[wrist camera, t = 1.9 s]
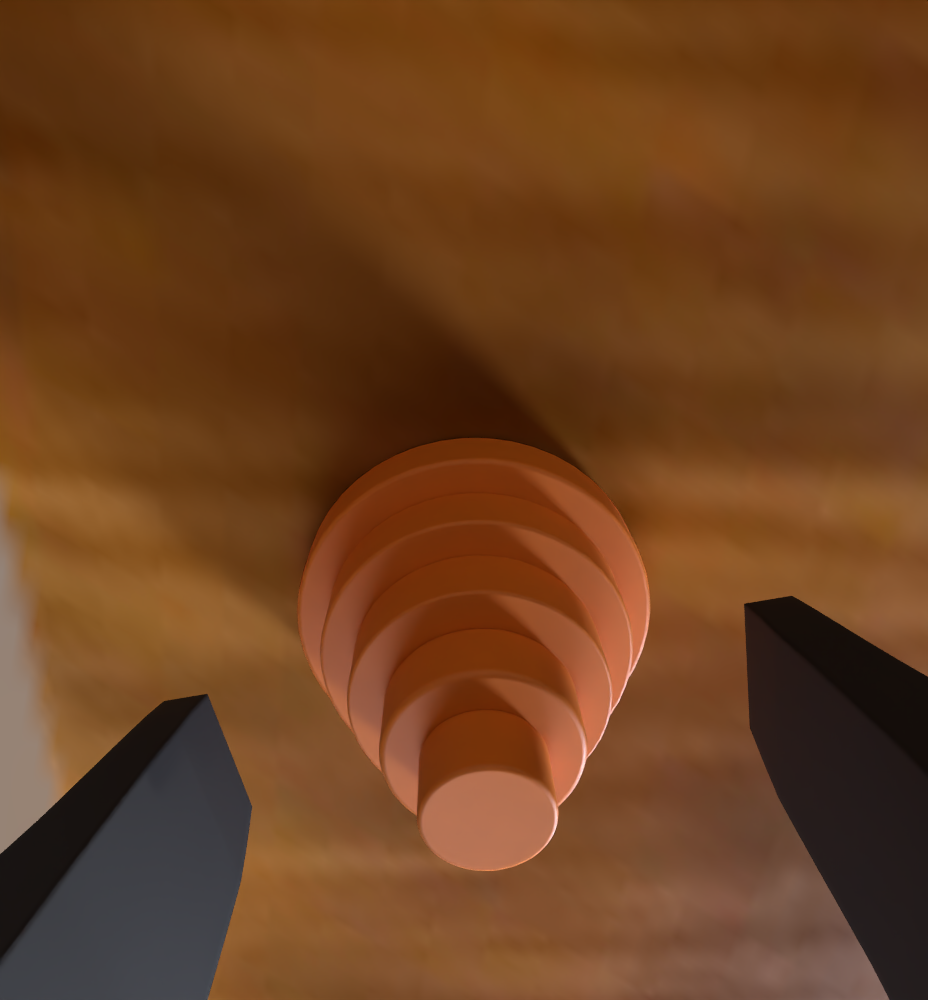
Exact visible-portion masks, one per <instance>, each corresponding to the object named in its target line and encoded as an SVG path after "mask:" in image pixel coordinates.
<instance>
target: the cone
mask: <svg viewBox="0 0 928 1000" xmlns="http://www.w3.org/2000/svg"><path fill="white" fill-rule="evenodd" d="M297 616H298V628H299V634H300V638H301V643H302V647H303V651H304V653H305V656H306V658H307V661H308V663H309V665H310V668H311V670H312V672H313V674H314V675H315V677H316V679H317V680H318V682H319V684H320V686H321V687H322V689H323V690H324V691H325V692H326V694H327V695H328V696H329V697H330V699H331V701H332V703H333V705H334V707H335V708H336V710H337V712H338V713H339V715H340V717H341V718H342V719H343V721H344V722H345V723H346V725H347V726H348V727H349V728H350V730H351V731H352V732H353V733H354V735H355V738H356V740H357V742H358V743H359V745H360V747H361V748H362V750H363V752H364V753H365V754H366V756H367V757H368V758H369V759H370V761H371V762H372V763H373V764H374V765H375V766H376V767H377V768H378V769H379V770H380V771H381V772H382V773H383V775H384V778H385V780H386V782H387V784H388V786H389V788H390V789H391V791H392V793H393V794H394V795H395V797H396V798H397V799H398V800H399V801H400V802H401V803H402V804H403V805H404V806H405V807H406V808H407V809H408V810H409V811H411V812H412V813H414V814H415V815H416V816H417V825H418V829H419V832H420V835H421V837H422V838H423V840H424V842H425V844H426V845H427V846H428V847H429V849H430V850H431V851H432V852H433V853H434V854H435V855H437V856H438V857H439V858H441V859H442V860H444V861H446V862H448V863H450V864H452V865H455V866H458V867H461V868H464V869H470V870H478V871H493V870H501V869H506V868H510V867H513V866H516V865H519V864H521V863H523V862H525V861H527V860H529V859H531V858H532V857H534V856H535V855H537V854H538V853H539V852H540V851H541V850H542V849H543V848H544V847H545V846H546V845H547V844H548V843H549V841H550V839H551V838H552V836H553V834H554V831H555V829H556V826H557V822H558V814H559V813H558V806H559V805H560V804H561V803H562V802H563V801H564V800H565V799H566V798H567V797H568V796H569V794H570V793H571V792H572V791H573V789H574V788H575V786H576V784H577V783H578V781H579V779H580V777H581V774H582V772H583V769H584V766H585V762H586V759H587V758H588V756H589V755H590V754H591V753H592V752H593V750H594V749H595V747H596V746H597V744H598V742H599V741H600V739H601V737H602V735H603V733H604V731H605V728H606V726H607V723H608V720H609V716H610V715H611V713H612V711H613V710H614V708H615V707H616V705H617V703H618V702H619V700H620V698H621V695H622V693H623V691H624V689H625V686H626V684H627V680H628V678H629V676H630V675H631V673H632V672H633V670H634V668H635V666H636V663H637V661H638V659H639V657H640V654H641V652H642V649H643V646H644V642H645V639H646V635H647V632H648V625H649V617H650V590H649V584H648V579H647V573H646V570H645V567H644V564H643V561H642V558H641V555H640V553H639V550H638V548H637V546H636V544H635V542H634V540H633V538H632V536H631V534H630V532H629V530H628V528H627V526H626V524H625V522H624V520H623V518H622V516H621V515H620V513H619V511H618V509H617V508H616V507H615V505H614V504H613V503H612V501H611V500H610V499H609V497H608V496H607V495H606V494H605V493H604V492H603V491H602V490H601V489H600V488H599V487H598V485H597V484H596V483H595V482H594V481H593V480H592V479H590V478H589V477H588V476H586V475H585V474H584V473H582V472H581V471H580V470H578V469H577V468H576V467H574V466H573V465H571V464H569V463H567V462H566V461H564V460H562V459H560V458H559V457H557V456H555V455H553V454H550V453H548V452H545V451H543V450H540V449H538V448H535V447H532V446H528V445H524V444H520V443H517V442H513V441H507V440H499V439H491V438H460V439H452V440H443V441H438V442H434V443H430V444H426V445H422V446H418V447H415V448H412V449H410V450H407V451H405V452H402V453H400V454H397V455H395V456H393V457H391V458H389V459H387V460H386V461H384V462H382V463H380V464H378V465H376V466H375V467H373V468H372V469H371V470H369V471H368V472H367V473H365V474H364V475H362V476H361V477H360V478H358V479H357V480H356V481H355V482H354V483H353V484H352V485H351V486H350V487H349V488H348V489H347V490H346V491H345V492H344V493H343V494H342V495H341V496H340V497H339V498H338V500H337V501H336V502H335V504H334V505H333V506H332V507H331V509H330V510H329V511H328V513H327V515H326V516H325V518H324V520H323V522H322V523H321V525H320V527H319V529H318V531H317V534H316V536H315V539H314V541H313V544H312V546H311V549H310V552H309V555H308V559H307V562H306V565H305V568H304V571H303V575H302V579H301V583H300V588H299V592H298V607H297Z"/></svg>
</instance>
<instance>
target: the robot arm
mask: <svg viewBox="0 0 928 1000" xmlns="http://www.w3.org/2000/svg"><path fill="white" fill-rule="evenodd" d="M744 608H745V630H746V652H747V674H748V697H749V719H750V729H751V731H752V734H753V736H754V739H755V742H756V744H757V747H758V749H759V752H760V754H761V757H762V759H763V762H764V764H765V767H766V769H767V771H768V774H769V776H770V778H771V781H772V783H773V786H774V788H775V790H776V793H777V795H778V797H779V799H780V801H781V803H782V805H783V807H784V809H785V810H786V812H787V814H788V816H789V818H790V820H791V821H792V823H793V825H794V827H795V829H796V830H797V832H798V834H799V836H800V838H801V839H802V841H803V843H804V845H805V847H806V848H807V850H808V852H809V854H810V856H811V857H812V859H813V861H814V863H815V865H816V866H817V868H818V870H819V872H820V873H821V875H822V877H823V879H824V881H825V882H826V884H827V886H828V888H829V889H830V891H831V893H832V895H833V897H834V898H835V900H836V902H837V904H838V905H839V907H840V909H841V911H842V913H843V914H844V916H845V918H846V920H847V921H848V923H849V925H850V927H851V929H852V930H853V932H854V934H855V936H856V938H857V939H858V941H859V943H860V945H861V946H862V948H863V950H864V952H865V954H866V955H867V957H868V959H869V961H870V962H871V964H872V966H873V968H874V970H875V972H876V974H877V976H878V978H879V980H880V982H881V984H882V986H883V988H884V990H885V991H886V993H887V995H888V997H889V999H890V1000H928V677H927V676H925V675H924V674H922V673H920V672H918V671H917V670H915V669H913V668H911V667H910V666H908V665H906V664H905V663H903V662H901V661H899V660H898V659H896V658H894V657H893V656H891V655H889V654H888V653H886V652H884V651H883V650H881V649H879V648H878V647H876V646H874V645H873V644H871V643H869V642H868V641H866V640H864V639H863V638H861V637H859V636H858V635H856V634H854V633H853V632H851V631H850V630H848V629H846V628H845V627H843V626H841V625H840V624H838V623H837V622H835V621H833V620H832V619H830V618H828V617H827V616H825V615H824V614H822V613H820V612H819V611H817V610H815V609H814V608H812V607H810V606H809V605H807V604H805V603H804V602H802V601H800V600H798V599H797V598H795V597H793V596H788V597H782V598H776V599H770V600H764V601H758V602H752V603H746V604H744ZM251 810H252V805H251V803H250V800H249V798H248V795H247V793H246V790H245V788H244V785H243V783H242V780H241V778H240V775H239V773H238V770H237V767H236V765H235V762H234V760H233V757H232V755H231V752H230V750H229V747H228V745H227V742H226V740H225V737H224V735H223V732H222V730H221V727H220V725H219V722H218V720H217V717H216V715H215V712H214V710H213V707H212V705H211V702H210V700H209V697H208V695H207V694H204V695H198V696H192V697H186V698H180V699H174V700H168V701H164V702H162V703H161V704H160V705H159V706H158V707H156V708H155V709H154V710H153V711H152V712H151V713H149V714H148V715H147V716H146V717H145V718H144V719H143V720H142V721H141V722H140V723H139V724H137V725H136V726H135V727H134V728H133V729H132V730H131V731H130V732H129V733H128V734H127V735H126V736H125V737H124V738H123V739H122V740H121V741H120V742H119V743H118V744H117V745H115V746H114V747H113V748H112V749H111V750H110V751H109V752H108V753H107V754H106V755H105V756H104V757H103V758H102V759H101V760H100V761H99V762H98V763H97V764H96V765H95V766H94V767H93V768H92V769H91V770H90V771H89V772H88V773H87V774H86V775H85V776H84V777H83V778H82V779H80V780H79V781H78V782H77V783H76V784H75V785H74V786H73V787H72V788H71V789H70V790H69V791H68V792H67V793H66V794H65V795H64V796H63V797H62V798H61V799H60V800H59V801H58V802H57V803H56V804H55V805H53V806H52V807H51V808H50V809H49V810H48V811H47V812H46V813H45V814H44V815H43V816H42V817H41V818H40V819H39V820H38V821H37V822H36V823H34V824H33V825H32V826H31V827H30V828H29V829H28V830H27V831H26V832H25V833H23V834H22V835H21V836H20V837H19V838H18V839H17V840H16V841H14V842H13V843H12V844H11V845H10V846H9V847H8V848H7V849H6V850H4V851H3V852H2V853H1V854H0V1000H207V999H208V996H209V992H210V989H211V986H212V982H213V979H214V975H215V972H216V968H217V965H218V961H219V958H220V954H221V951H222V947H223V944H224V941H225V937H226V933H227V930H228V926H229V923H230V919H231V915H232V912H233V908H234V905H235V901H236V897H237V894H238V890H239V886H240V882H241V878H242V872H243V866H244V860H245V854H246V848H247V840H248V833H249V825H250V818H251Z"/></svg>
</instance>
